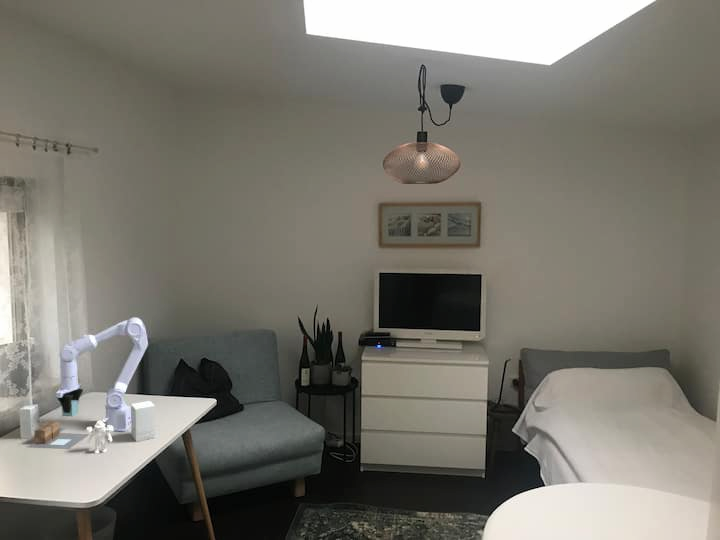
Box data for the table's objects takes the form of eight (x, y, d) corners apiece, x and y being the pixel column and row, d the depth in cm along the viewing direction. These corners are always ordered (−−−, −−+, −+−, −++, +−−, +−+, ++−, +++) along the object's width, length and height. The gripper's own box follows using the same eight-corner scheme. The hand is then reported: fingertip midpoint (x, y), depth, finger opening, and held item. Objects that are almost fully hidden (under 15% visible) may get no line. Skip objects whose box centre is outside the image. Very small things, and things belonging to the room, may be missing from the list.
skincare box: (32, 441, 213) (30, 409, 212) (20, 441, 213) (18, 409, 212) (40, 434, 219) (39, 404, 218) (28, 434, 219) (27, 404, 218)
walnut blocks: (59, 435, 216) (58, 422, 216) (45, 443, 208) (44, 430, 207) (49, 434, 216) (48, 421, 216) (34, 443, 208) (34, 430, 208)
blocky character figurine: (114, 448, 207) (113, 415, 206) (113, 452, 203) (112, 419, 202) (87, 451, 204) (86, 418, 203) (85, 455, 201) (84, 422, 199)
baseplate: (90, 436, 217) (90, 433, 217) (68, 451, 204) (68, 448, 203) (50, 435, 219) (49, 432, 219) (26, 449, 205) (25, 446, 205)
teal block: (78, 412, 222) (77, 400, 222) (72, 416, 218) (71, 403, 218) (68, 412, 223) (68, 400, 222) (62, 416, 219) (61, 403, 218)
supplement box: (156, 438, 217) (155, 405, 216) (135, 442, 213) (134, 409, 212) (151, 431, 223) (150, 400, 222) (131, 435, 219) (130, 403, 218)
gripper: (70, 370, 227) (71, 403, 228) (47, 380, 212) (48, 416, 214) (87, 371, 226) (88, 404, 227) (65, 381, 212) (66, 417, 213)
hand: (70, 410), depth 220 cm, fingers closed on teal block, 4 cm apart
